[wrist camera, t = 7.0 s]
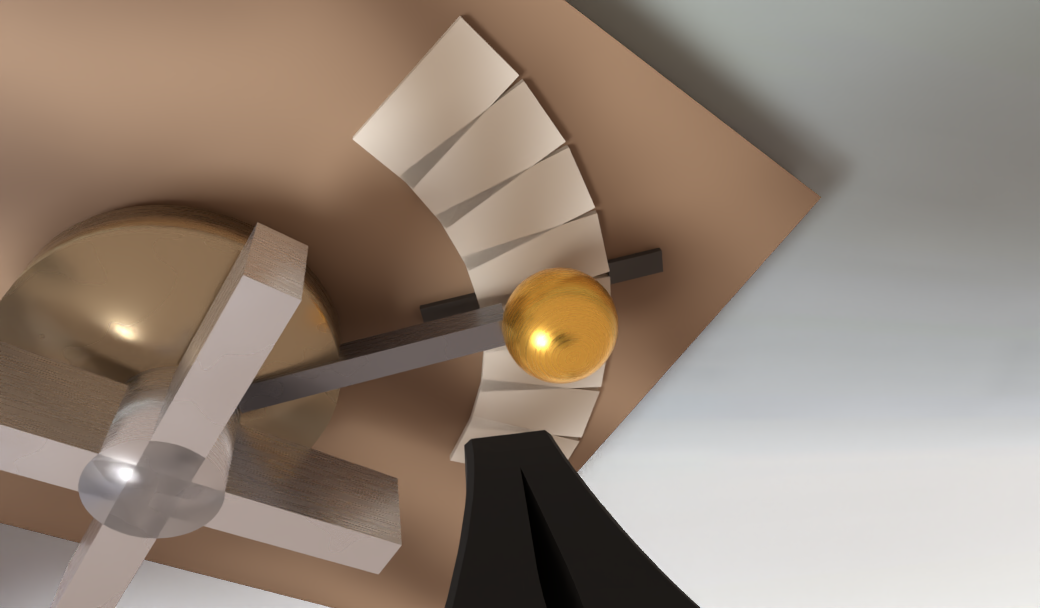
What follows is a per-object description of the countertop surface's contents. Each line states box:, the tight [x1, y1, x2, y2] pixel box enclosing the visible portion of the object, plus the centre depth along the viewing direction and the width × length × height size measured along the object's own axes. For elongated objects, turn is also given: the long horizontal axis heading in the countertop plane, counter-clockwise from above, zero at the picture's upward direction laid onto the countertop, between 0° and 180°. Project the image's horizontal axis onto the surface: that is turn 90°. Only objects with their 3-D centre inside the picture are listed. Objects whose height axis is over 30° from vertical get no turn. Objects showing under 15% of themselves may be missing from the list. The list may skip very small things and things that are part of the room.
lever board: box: [0, 0, 821, 608], centre depth 21 cm, size 21×21×2 cm
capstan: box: [0, 205, 618, 608], centre depth 18 cm, size 15×15×4 cm
